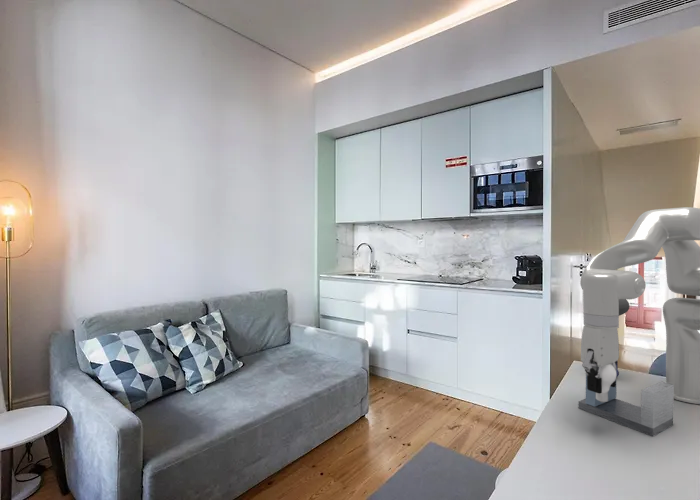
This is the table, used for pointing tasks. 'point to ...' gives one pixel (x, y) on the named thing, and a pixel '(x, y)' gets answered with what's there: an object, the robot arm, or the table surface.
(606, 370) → the lightbulb
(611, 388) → the vise jaw
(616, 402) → the vise base
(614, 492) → the table surface
